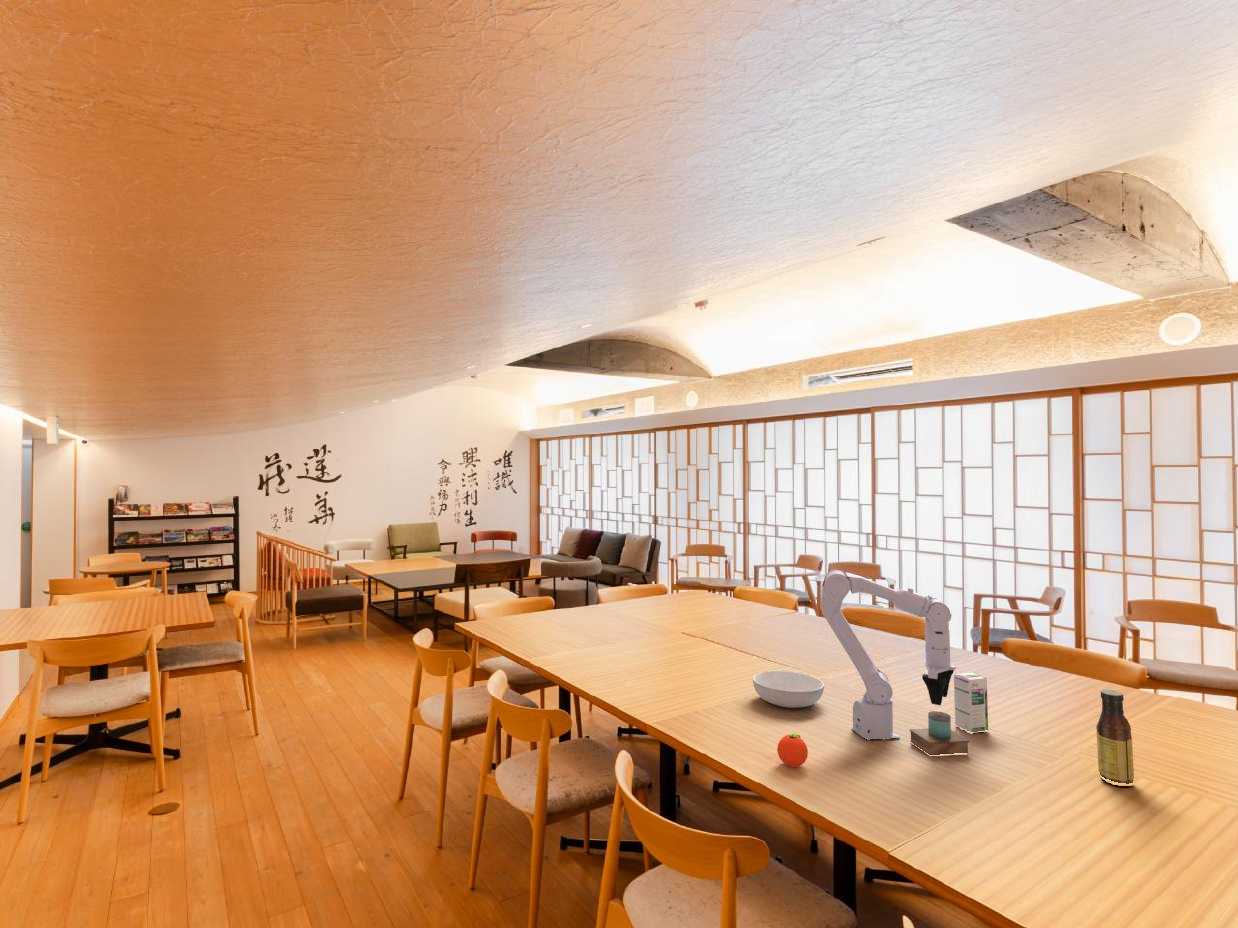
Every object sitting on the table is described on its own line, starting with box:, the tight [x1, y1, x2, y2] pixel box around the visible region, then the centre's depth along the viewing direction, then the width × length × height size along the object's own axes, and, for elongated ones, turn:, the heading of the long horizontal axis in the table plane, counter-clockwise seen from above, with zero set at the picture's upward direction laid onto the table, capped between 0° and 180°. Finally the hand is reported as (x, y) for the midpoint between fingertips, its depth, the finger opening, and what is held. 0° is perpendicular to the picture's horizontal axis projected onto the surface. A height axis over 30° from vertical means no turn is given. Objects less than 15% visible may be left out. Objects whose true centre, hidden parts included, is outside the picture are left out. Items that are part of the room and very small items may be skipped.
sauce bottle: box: [1096, 689, 1135, 784], centre depth 141 cm, size 7×6×20 cm
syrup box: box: [953, 672, 989, 732], centre depth 171 cm, size 6×6×14 cm
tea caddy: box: [927, 710, 952, 739], centre depth 157 cm, size 5×5×5 cm
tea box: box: [909, 728, 970, 755], centre depth 157 cm, size 10×8×4 cm
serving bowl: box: [752, 670, 825, 709], centre depth 191 cm, size 21×21×7 cm
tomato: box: [776, 733, 809, 768], centre depth 148 cm, size 8×7×7 cm
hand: (939, 700), depth 163 cm, fingers open, 7 cm apart
